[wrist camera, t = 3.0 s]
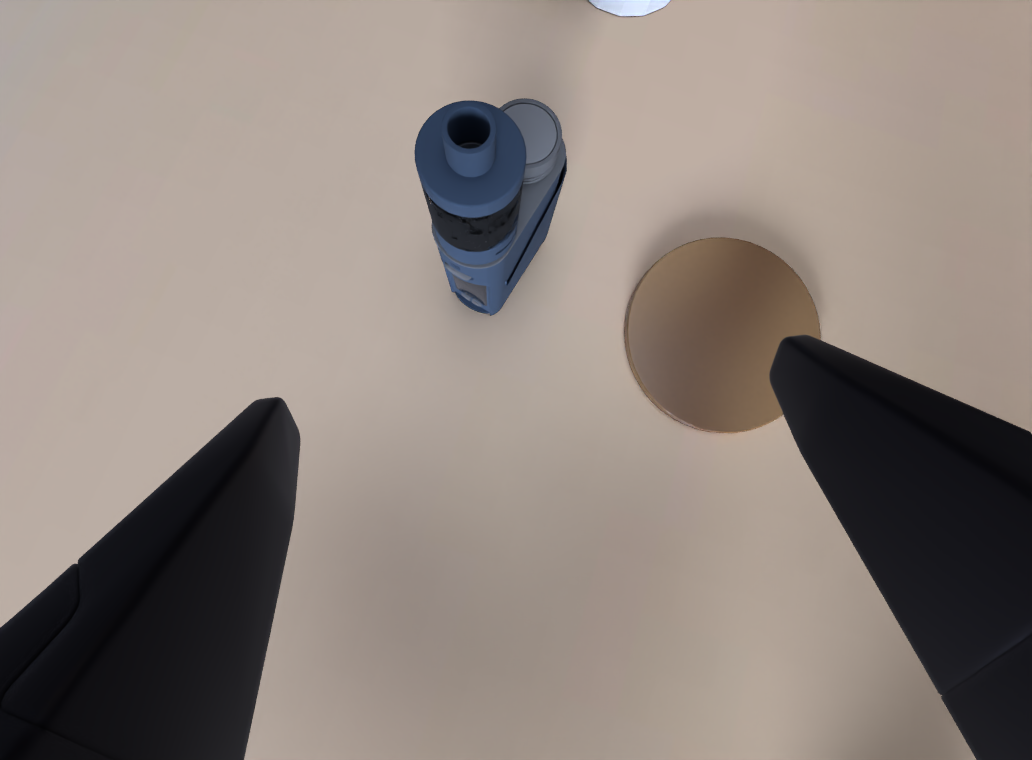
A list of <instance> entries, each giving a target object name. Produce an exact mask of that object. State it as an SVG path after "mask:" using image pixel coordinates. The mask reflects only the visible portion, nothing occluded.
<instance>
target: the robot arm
mask: <svg viewBox="0 0 1032 760" xmlns="http://www.w3.org/2000/svg"><path fill="white" fill-rule="evenodd" d="M769 380H770V384H771V386H772V389H773V391H774V393H775V396H776V398H777V400H778V403H779V405H780V407H781V409H782V412H783V414H784V416H785V419H786V421H787V423H788V426H789V428H790V430H791V433H792V435H793V437H794V439H795V442H796V444H797V446H798V448H799V450H800V452H801V454H802V456H803V458H804V460H805V461H806V463H807V465H808V467H809V468H810V470H811V472H812V474H813V475H814V477H815V479H816V481H817V482H818V484H819V486H820V488H821V489H822V491H823V493H824V495H825V496H826V498H827V500H828V501H829V503H830V505H831V507H832V508H833V510H834V512H835V514H836V515H837V517H838V519H839V521H840V522H841V524H842V526H843V528H844V529H845V531H846V533H847V535H848V536H849V538H850V540H851V541H852V543H853V545H854V547H855V548H856V550H857V552H858V554H859V555H860V557H861V559H862V561H863V562H864V564H865V566H866V568H867V569H868V571H869V573H870V575H871V576H872V578H873V580H874V581H875V583H876V585H877V587H878V588H879V590H880V592H881V594H882V595H883V597H884V599H885V601H886V602H887V604H888V606H889V608H890V609H891V611H892V613H893V614H894V616H895V618H896V620H897V621H898V623H899V625H900V627H901V628H902V630H903V632H904V634H905V635H906V637H907V639H908V641H909V642H910V644H911V646H912V648H913V649H914V651H915V653H916V654H917V656H918V658H919V660H920V661H921V663H922V665H923V667H924V668H925V670H926V672H927V674H928V675H929V677H930V679H931V681H932V682H933V684H934V686H935V688H936V689H937V691H938V693H939V694H940V695H942V696H941V699H942V700H943V702H944V704H945V706H946V707H947V709H948V711H949V713H950V714H951V716H952V718H953V719H954V721H955V723H956V725H957V726H958V728H959V730H960V732H961V733H962V735H963V737H964V739H965V740H966V742H967V744H968V746H969V747H970V749H971V751H972V752H973V754H974V756H975V758H976V759H977V760H1032V434H1031V433H1030V432H1029V431H1027V430H1025V429H1022V428H1020V427H1018V426H1016V425H1013V424H1011V423H1009V422H1006V421H1004V420H1002V419H1000V418H997V417H995V416H993V415H990V414H988V413H986V412H984V411H981V410H979V409H977V408H974V407H972V406H970V405H968V404H965V403H963V402H961V401H958V400H956V399H954V398H952V397H949V396H947V395H945V394H942V393H940V392H938V391H936V390H933V389H931V388H929V387H926V386H924V385H922V384H920V383H917V382H915V381H913V380H910V379H908V378H906V377H904V376H901V375H899V374H897V373H894V372H892V371H890V370H888V369H885V368H883V367H881V366H878V365H876V364H874V363H872V362H869V361H867V360H865V359H862V358H860V357H858V356H856V355H853V354H851V353H849V352H846V351H844V350H842V349H840V348H837V347H835V346H833V345H830V344H828V343H826V342H824V341H821V340H819V339H817V338H814V337H812V336H810V335H796V336H788V337H785V338H784V339H783V340H782V341H781V342H780V344H779V347H778V349H777V352H776V355H775V358H774V360H773V363H772V366H771V369H770V373H769ZM299 452H300V434H299V430H298V428H297V425H296V423H295V421H294V419H293V417H292V415H291V413H290V411H289V409H288V407H287V405H286V403H285V401H284V400H283V399H281V398H279V397H274V398H265V399H259V400H256V401H254V402H253V403H252V404H250V405H249V406H248V407H247V408H246V409H245V410H244V411H243V412H242V413H240V414H239V415H238V416H237V417H236V418H235V419H234V420H233V421H232V422H230V423H229V424H228V425H227V426H226V427H225V428H224V429H223V430H222V431H220V432H219V433H218V434H217V435H216V436H215V437H214V438H213V439H212V440H210V441H209V442H208V443H207V444H206V445H205V446H204V447H203V448H202V449H200V450H199V451H198V452H197V453H196V454H195V455H194V456H193V457H192V458H190V459H189V460H188V461H187V462H186V463H185V464H184V465H183V466H182V467H180V468H179V469H178V470H177V471H176V472H175V473H174V474H173V475H172V476H170V477H169V478H168V479H167V480H166V481H165V482H164V483H163V484H162V485H160V486H159V487H158V488H157V489H156V490H155V491H154V492H153V493H152V494H151V495H149V496H148V497H147V498H146V499H145V500H144V501H143V502H142V503H141V504H139V505H138V506H137V507H136V508H135V509H134V510H133V511H132V512H131V513H129V514H128V515H127V516H126V517H125V518H124V519H123V520H122V521H121V522H119V523H118V524H117V525H116V526H115V527H114V528H113V529H112V530H110V531H109V532H108V533H107V534H106V535H105V536H104V537H103V538H102V539H100V540H99V541H98V542H97V543H96V544H95V545H94V546H93V547H92V548H90V549H89V550H88V551H87V552H86V553H85V554H84V555H83V556H82V557H80V558H79V560H78V564H73V565H71V566H70V567H69V568H68V569H67V570H66V571H65V572H64V573H63V574H61V575H60V576H59V577H58V578H57V579H56V580H55V581H54V582H53V583H51V584H50V585H49V586H48V587H47V588H46V589H45V590H43V591H42V592H41V593H40V594H39V595H38V596H37V597H35V598H34V599H33V600H32V601H31V602H30V603H29V604H27V605H26V606H25V607H24V608H23V609H22V610H21V611H19V612H18V613H17V614H16V615H15V616H14V617H13V618H11V619H10V620H9V621H8V622H7V623H5V624H4V625H3V626H2V627H1V628H0V760H244V757H245V752H246V747H247V742H248V738H249V733H250V728H251V723H252V718H253V714H254V709H255V704H256V699H257V694H258V690H259V685H260V680H261V675H262V670H263V666H264V661H265V656H266V651H267V646H268V642H269V637H270V632H271V627H272V622H273V618H274V613H275V608H276V603H277V598H278V594H279V589H280V584H281V579H282V574H283V570H284V565H285V560H286V555H287V550H288V546H289V541H290V536H291V531H292V526H293V520H294V511H295V501H296V489H297V477H298V464H299Z"/></svg>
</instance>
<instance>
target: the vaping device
mask: <svg viewBox="0 0 1032 760" xmlns="http://www.w3.org/2000/svg"><path fill="white" fill-rule="evenodd" d="M415 163H416V167H417V171H418V174H419V178H420V181H421V185H422V188H423V191H424V195H425V198H426V201H427V205H428V208H429V212H430V215H431V218H432V233H433V236H434V240H435V242H436V244H437V246H438V250H439V253H440V256H441V259H442V262H443V264H444V267H445V271H446V274H447V277H448V280H449V284H450V287H451V290H452V292H455V293H456V295H457V297H458V298H459V299H460V300H461V301H462V302H463V303H464V304H465V305H466V306H468V307H469V308H471V309H473V310H475V311H478V312H482V313H490V316H491V315H493V314H495V313H497V312H498V311H499V310H500V309H501V307H502V306H503V304H504V303H505V301H506V300H507V298H508V296H509V295H510V293H511V292H512V290H513V288H514V287H515V285H516V284H517V282H518V281H519V279H520V277H521V276H522V274H523V273H524V271H525V269H526V268H527V266H528V265H529V263H530V262H531V260H532V258H533V257H534V255H535V254H536V252H537V251H538V249H539V247H540V245H541V244H542V243H543V242H544V240H545V238H546V236H547V233H548V230H549V226H550V223H551V220H552V217H553V213H554V210H555V207H556V204H557V200H558V197H559V194H560V190H561V187H562V184H563V181H564V177H565V174H566V171H567V158H566V149H565V144H564V142H563V139H562V129H561V125H560V122H559V120H558V118H557V116H556V115H555V113H554V112H553V111H552V110H551V109H550V108H549V107H548V106H546V105H545V104H543V103H541V102H539V101H536V100H533V99H516V100H513V101H510V102H508V103H506V104H504V105H503V106H502V107H500V108H497V107H495V106H493V105H490V104H487V103H484V102H479V101H460V102H455V103H452V104H449V105H446V106H444V107H442V108H441V109H439V110H437V111H436V112H435V113H434V114H432V115H431V116H430V117H429V118H428V119H427V121H426V122H425V123H424V124H423V126H422V128H421V130H420V132H419V134H418V137H417V140H416V145H415ZM429 197H430V198H429ZM429 199H430V200H429ZM430 202H431V204H430Z"/></svg>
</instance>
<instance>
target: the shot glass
mask: <svg viewBox="0 0 1032 760" xmlns="http://www.w3.org/2000/svg"><path fill="white" fill-rule="evenodd" d="M589 1H590V2H591V3H592V4H593V5H594V6H595V7H596V8H599V9H602V10H604V11H607V12H610V13H612V14H615V15H618V16H644V15H647V14H649V13H651V12H654V11H656V10H658V9H661V8H663V7H665V6H666V5H667V4H668V3H669V2H670V1H671V0H589Z"/></svg>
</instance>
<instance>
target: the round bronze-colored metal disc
mask: <svg viewBox="0 0 1032 760" xmlns="http://www.w3.org/2000/svg"><path fill="white" fill-rule="evenodd" d="M796 335H810V336H812V337H814V338H817V339H819V340H820V338H821V337H820V325H819V320H818V315H817V311H816V308H815V305H814V302H813V300H812V298H811V296H810V294H809V292H808V290H807V288H806V286H805V285H804V283H803V282H802V280H801V279H800V277H799V276H798V275H797V274H796V273H795V272H794V270H793V269H792V268H791V267H790V266H789V265H788V264H786V263H785V262H784V261H783V260H782V259H781V258H779V257H778V256H776V255H775V254H774V253H772V252H770V251H768V250H767V249H765V248H763V247H761V246H758V245H756V244H753V243H751V242H747V241H743V240H739V239H733V238H707V239H700V240H696V241H693V242H689V243H687V244H684V245H682V246H680V247H677V248H676V249H674V250H672V251H671V252H669V253H667V254H666V255H665V256H663V257H662V258H661V259H660V260H658V261H657V262H656V263H655V264H654V265H653V266H652V267H651V268H650V269H649V270H648V271H647V272H646V273H645V275H644V276H643V278H642V279H641V280H640V282H639V283H638V285H637V287H636V289H635V291H634V293H633V295H632V297H631V300H630V303H629V306H628V310H627V314H626V319H625V346H626V351H627V357H628V360H629V363H630V366H631V369H632V371H633V373H634V376H635V378H636V380H637V382H638V383H639V385H640V386H641V388H642V389H643V391H644V392H645V394H646V395H647V396H648V397H649V398H650V400H651V401H652V402H653V403H654V404H655V405H656V406H657V407H659V408H660V409H661V410H662V411H663V412H665V413H666V414H667V415H669V416H670V417H672V418H673V419H675V420H677V421H679V422H681V423H683V424H685V425H687V426H690V427H693V428H695V429H700V430H704V431H708V432H719V433H736V432H743V431H749V430H752V429H756V428H759V427H762V426H764V425H766V424H768V423H770V422H772V421H774V420H776V419H777V418H779V417H780V416H782V415H783V412H782V409H781V407H780V405H779V403H778V400H777V398H776V396H775V393H774V391H773V389H772V386H771V384H770V380H769V373H770V369H771V366H772V363H773V360H774V358H775V355H776V352H777V349H778V347H779V344H780V342H781V341H782V340H783V339H784V338H785V337H788V336H796Z"/></svg>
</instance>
